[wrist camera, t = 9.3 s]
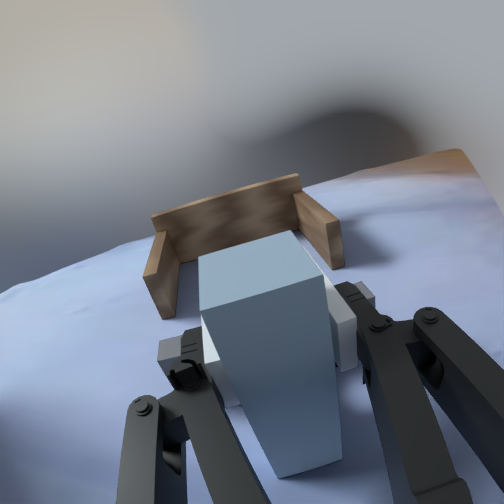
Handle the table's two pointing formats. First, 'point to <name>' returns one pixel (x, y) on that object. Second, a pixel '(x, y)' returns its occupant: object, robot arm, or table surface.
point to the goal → (235, 230)
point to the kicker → (274, 347)
